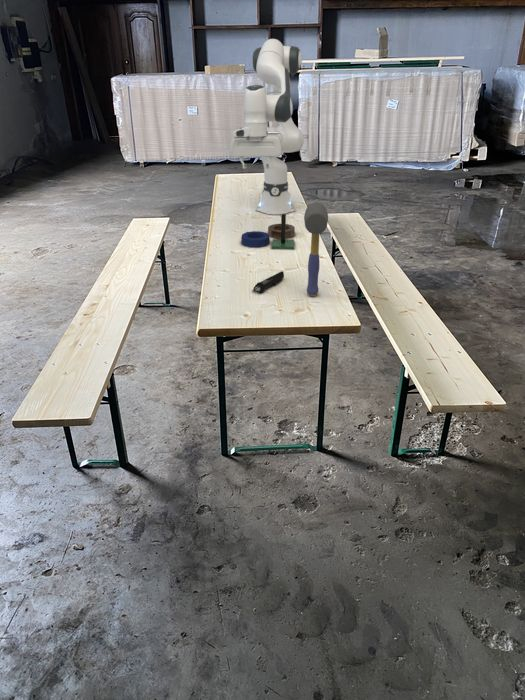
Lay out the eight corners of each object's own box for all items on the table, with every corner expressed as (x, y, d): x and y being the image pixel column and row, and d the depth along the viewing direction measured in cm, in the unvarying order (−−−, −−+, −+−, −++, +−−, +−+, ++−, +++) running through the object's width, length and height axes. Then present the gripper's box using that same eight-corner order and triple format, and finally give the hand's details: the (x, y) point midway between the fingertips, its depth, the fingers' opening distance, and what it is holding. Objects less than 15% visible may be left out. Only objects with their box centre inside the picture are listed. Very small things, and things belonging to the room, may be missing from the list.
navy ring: (243, 238, 228) (243, 231, 227) (270, 238, 227) (270, 231, 226) (240, 247, 218) (240, 239, 217) (268, 247, 217) (268, 240, 216)
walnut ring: (268, 230, 237) (269, 223, 236) (294, 230, 237) (294, 223, 235) (267, 238, 227) (267, 231, 226) (294, 239, 227) (294, 232, 225)
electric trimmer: (286, 280, 189) (287, 271, 187) (261, 294, 178) (261, 285, 176) (278, 277, 191) (278, 269, 189) (252, 291, 180) (252, 283, 178)
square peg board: (272, 241, 224) (273, 210, 217) (294, 242, 224) (294, 211, 217) (271, 248, 216) (271, 217, 210) (293, 249, 216) (294, 217, 209)
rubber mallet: (323, 303, 172) (329, 211, 156) (300, 302, 172) (304, 211, 157) (323, 288, 182) (328, 200, 167) (301, 287, 183) (304, 200, 168)
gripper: (282, 130, 208) (282, 167, 214) (231, 131, 210) (232, 167, 216) (282, 131, 203) (282, 169, 209) (229, 132, 204) (230, 169, 210)
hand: (256, 168), depth 212 cm, fingers open, 8 cm apart
